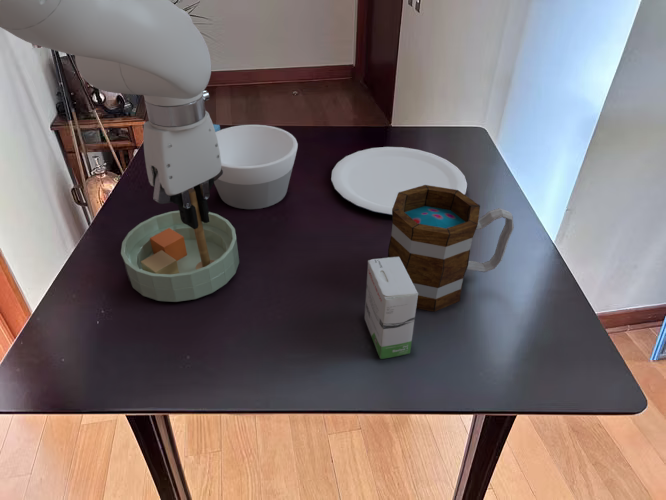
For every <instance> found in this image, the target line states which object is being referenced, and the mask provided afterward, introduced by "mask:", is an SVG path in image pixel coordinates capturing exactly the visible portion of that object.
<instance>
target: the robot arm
mask: <svg viewBox="0 0 666 500" xmlns="http://www.w3.org/2000/svg"><path fill="white" fill-rule="evenodd" d="M0 28H1V29H3V30H5V31H6V32H8V33H10V34H11V35H12V36H14V37H16V38H18V39H20V40H23V41H24V42H26V43H29V44H32V45H35V46H38V47H41V48H45V49H49V50H52V51H55V52H59V53H63V54H67V55H71V56H74V61H75V65H76V68H77V71H78V72H79V75H80V76H81V77H82V79H84V81H85V82H86V83H88V84H89V85H90V86H91V87H93V88H95V89H97V90H99V91H102V92H107V93H113V94H122V95H133V96H134V95H135V96H143V98H144V99H143V100H144V104H145V107H146V113H147V117H148V121H145V122H144V123H143V129H142V130H143V133H142V141H143V143H142V144H143V153H144V155H143V156H144V162H145V168H146V169H145V170H146V174H147V179H148V183H149V185H150V186H151V187H153V195H152V198H153V199H152V200H153V201H154V202H156V203H158V204H159V205H164V204H170V203H173V204H175V205H177V206H178V211H179V212H180V217H181V221H182V222H183V223H184V224H186V225H188V226H190V227H191V228H193V229H196V228H198V220H197V214H196V208H195V206H193V205H192V204H191V200H190V196H189V192H188V189H194V190H195V193H196V197H197V202H198V207H199V211H200V216H201V221H202V222H204V223H208V222H209V215H208V213H209V212H210V210H209V209H210V208H209V204H208V199H210V196H211V190H212V187H213V186H214V185H215V184H214V181H216V180H217V179H218V178H219V177H220V176H221V175H222V174H223V170H222V168H221V157H220V151H219V145H218V141H217V136H216V133H215V129H214V126H213V124H214V123H213V121H212V118H211V116H210V113H209V112H208V111H207V110H206V103H205V102H206V101H209V100H210V94H209V92H208V90H206V89H207V87H208V85H209V82H210V79H211V75H212V59H211V53H210V50H209V46H208V45H207V42H206V40H205V38H204V36H203V34H202V33H201V32H200V30H199V29H198V28H197V26H196V24H195V23H194V22H193V19H192V17H191V15H190V14H189V13H188V12H187V11H185V10H184V9H182V8H179V7H178V6H177V5H176V4H174V3H173V2H172V1H171V0H0Z"/></svg>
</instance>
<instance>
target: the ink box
mask: <svg viewBox="0 0 666 500" xmlns="http://www.w3.org/2000/svg"><path fill="white" fill-rule="evenodd" d="M417 298H418V292H417V290H416V289H415V287H414V285H413V283H412V281H411V279H410V277H409V275H408V273H407V271H406V269H405V267H404V265H403V263H402V261H401V259H400V257H388V256H387V257H382V258H372V259H368V260H367V274H366V287H365V305H364V321H365V324H366V326H367V329H368V332H369V335H370V337H371V339H372V342H373V344H374V347H375V350H376V352H377V354H378V357H379V359H380V360H384V359H389V358H391V359H392V358H396V357H401V356H405V355H409V354H411V348H412V342H413V335H414V329H415V319H416V312H417V308H416V306H417Z"/></svg>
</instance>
